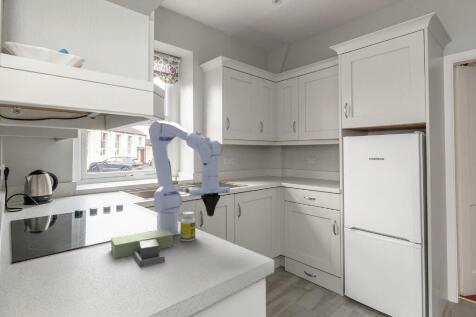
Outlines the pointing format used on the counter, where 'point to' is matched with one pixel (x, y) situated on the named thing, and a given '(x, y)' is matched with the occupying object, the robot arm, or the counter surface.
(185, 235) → the supplement bottle
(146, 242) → the chute block
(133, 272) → the counter surface
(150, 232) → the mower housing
